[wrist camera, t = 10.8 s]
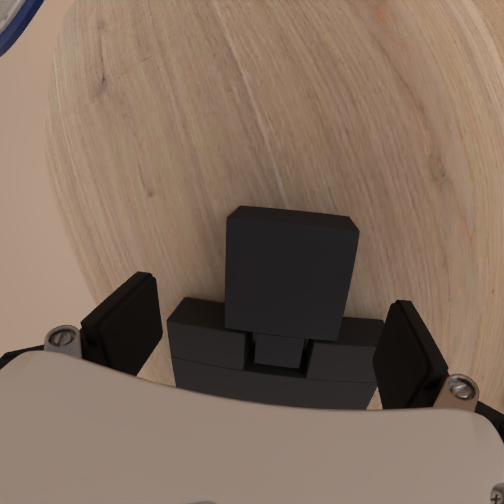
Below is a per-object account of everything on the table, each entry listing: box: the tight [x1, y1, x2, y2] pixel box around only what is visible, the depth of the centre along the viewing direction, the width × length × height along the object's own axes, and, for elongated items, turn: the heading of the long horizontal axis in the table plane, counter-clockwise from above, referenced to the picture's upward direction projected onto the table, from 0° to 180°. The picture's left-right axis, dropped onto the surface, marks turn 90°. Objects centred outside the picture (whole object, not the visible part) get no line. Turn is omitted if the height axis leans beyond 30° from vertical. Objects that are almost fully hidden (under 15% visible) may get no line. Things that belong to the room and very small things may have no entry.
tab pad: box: [225, 206, 360, 368], centre depth 16 cm, size 6×9×3 cm
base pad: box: [166, 297, 384, 410], centre depth 19 cm, size 14×12×3 cm
